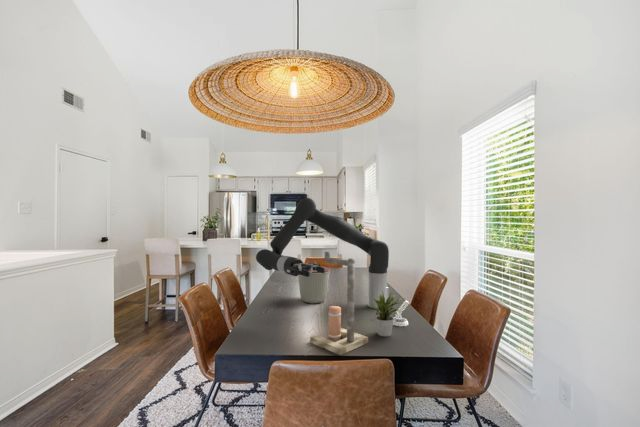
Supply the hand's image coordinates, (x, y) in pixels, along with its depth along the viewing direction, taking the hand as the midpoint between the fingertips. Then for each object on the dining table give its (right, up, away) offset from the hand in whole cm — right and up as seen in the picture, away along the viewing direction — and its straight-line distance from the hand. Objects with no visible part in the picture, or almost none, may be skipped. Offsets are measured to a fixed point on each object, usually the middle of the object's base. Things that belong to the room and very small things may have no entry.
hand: (316, 272), depth 123 cm
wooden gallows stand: (+8, -23, -10) cm, 27 cm away
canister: (-2, -24, +45) cm, 51 cm away
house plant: (+26, -24, -3) cm, 35 cm away
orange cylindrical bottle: (+7, -23, -8) cm, 26 cm away
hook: (+35, -24, +11) cm, 44 cm away
